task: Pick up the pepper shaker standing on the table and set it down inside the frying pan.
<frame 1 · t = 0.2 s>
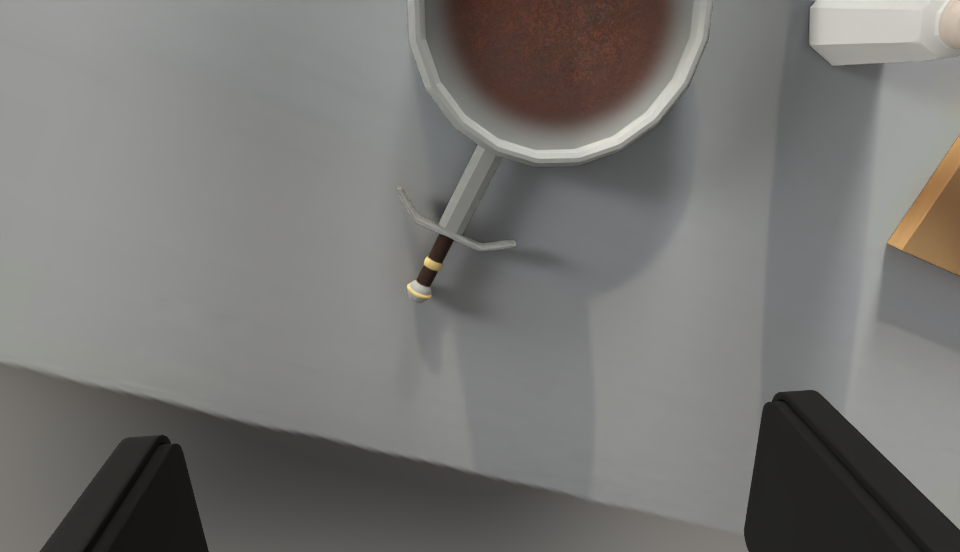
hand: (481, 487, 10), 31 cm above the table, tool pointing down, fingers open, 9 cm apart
frying pan: (511, 101, 39), on the table
pepper shaker: (847, 18, 38), on the table
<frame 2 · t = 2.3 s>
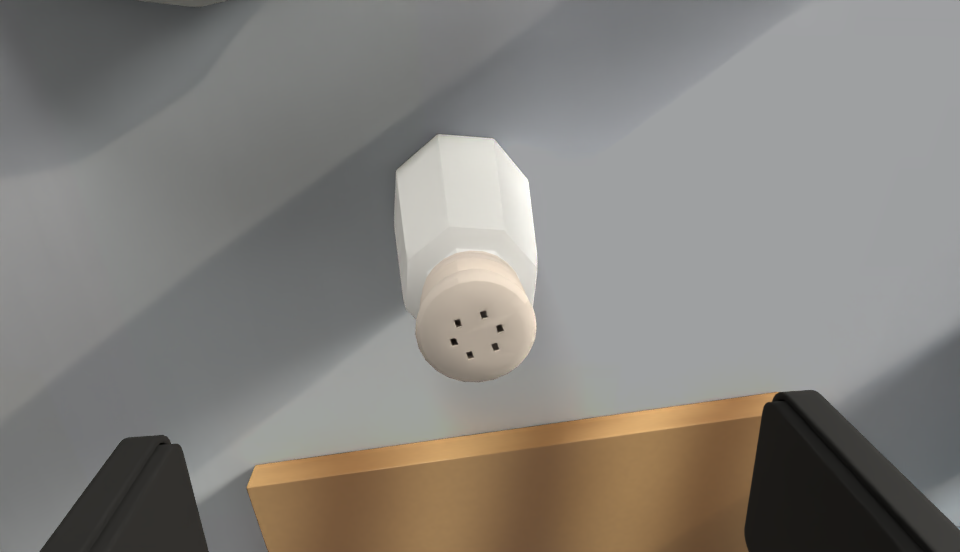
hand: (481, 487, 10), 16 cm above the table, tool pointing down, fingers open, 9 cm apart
pepper shaker: (460, 199, 25), on the table
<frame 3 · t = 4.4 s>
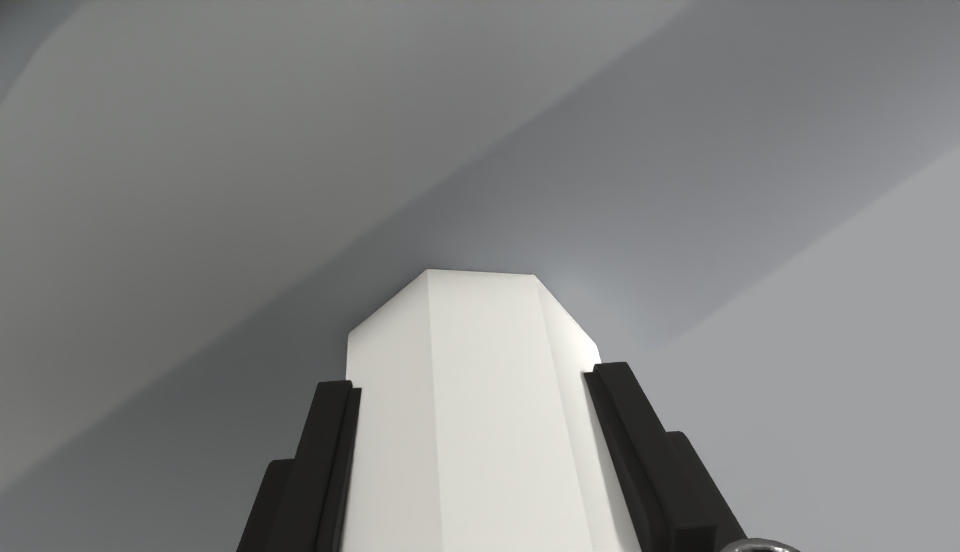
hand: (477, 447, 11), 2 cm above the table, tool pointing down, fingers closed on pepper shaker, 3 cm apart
pepper shaker: (469, 375, 14), on the table, touching gripper
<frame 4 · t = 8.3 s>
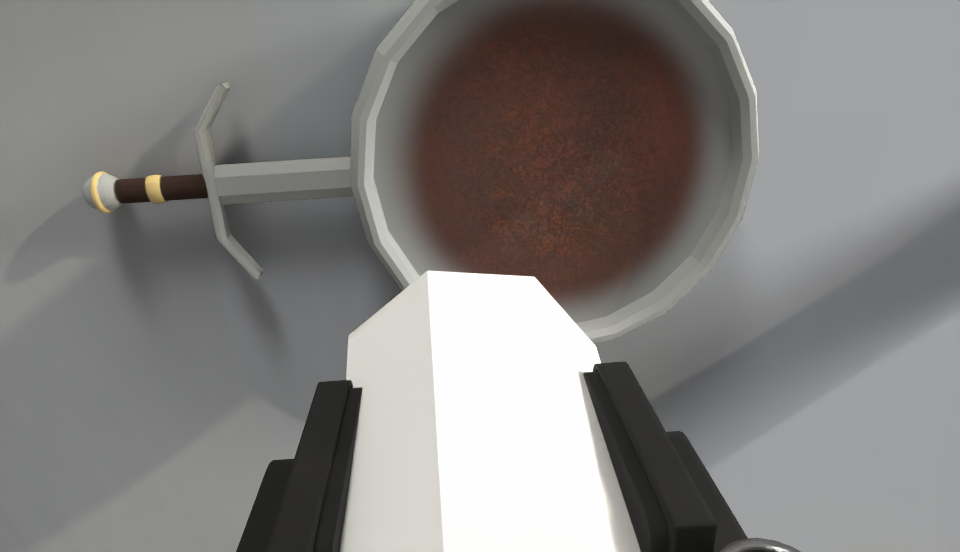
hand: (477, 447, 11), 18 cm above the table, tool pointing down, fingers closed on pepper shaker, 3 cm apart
frying pan: (425, 166, 28), on the table
pepper shaker: (469, 376, 14), point 16 cm above the table, touching gripper
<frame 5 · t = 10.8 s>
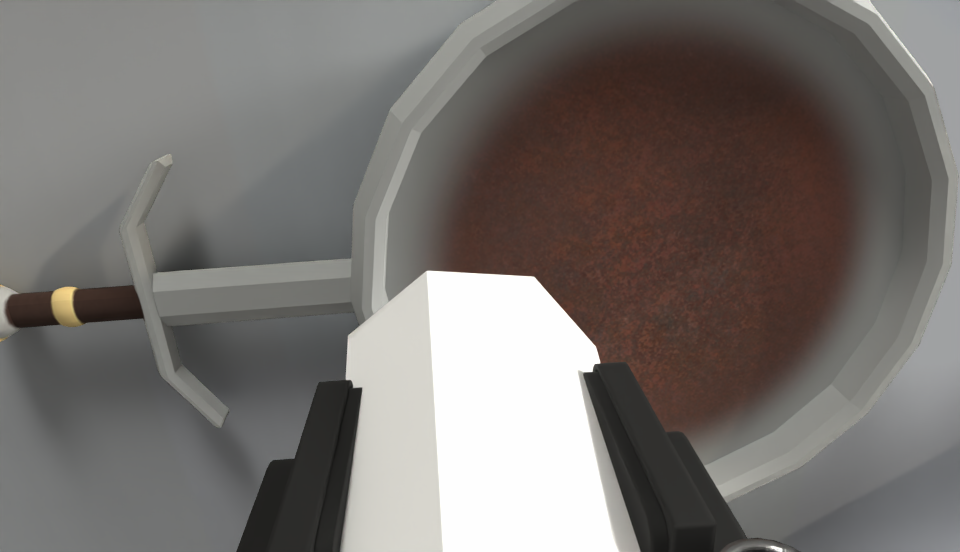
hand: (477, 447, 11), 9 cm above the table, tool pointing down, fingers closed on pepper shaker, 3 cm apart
frying pan: (457, 263, 20), on the table
pepper shaker: (469, 376, 14), point 6 cm above the table, touching gripper
when the fingers open (5 cm above the table, at t = 12.2 s): pepper shaker stays where it is, resting on frying pan.
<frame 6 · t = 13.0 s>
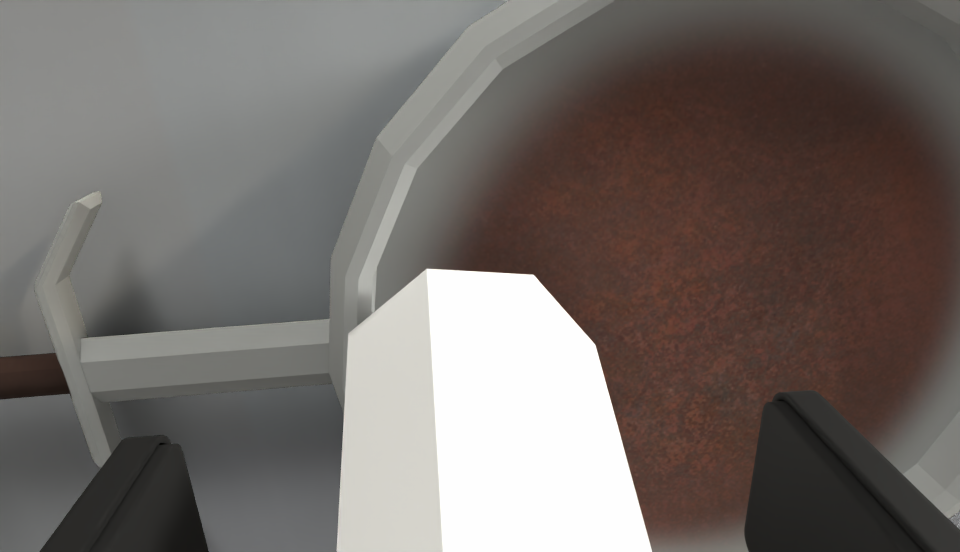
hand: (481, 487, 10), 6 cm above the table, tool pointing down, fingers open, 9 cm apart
frying pan: (463, 320, 16), on the table, touching pepper shaker
pepper shaker: (469, 374, 14), point 2 cm above the table, touching frying pan
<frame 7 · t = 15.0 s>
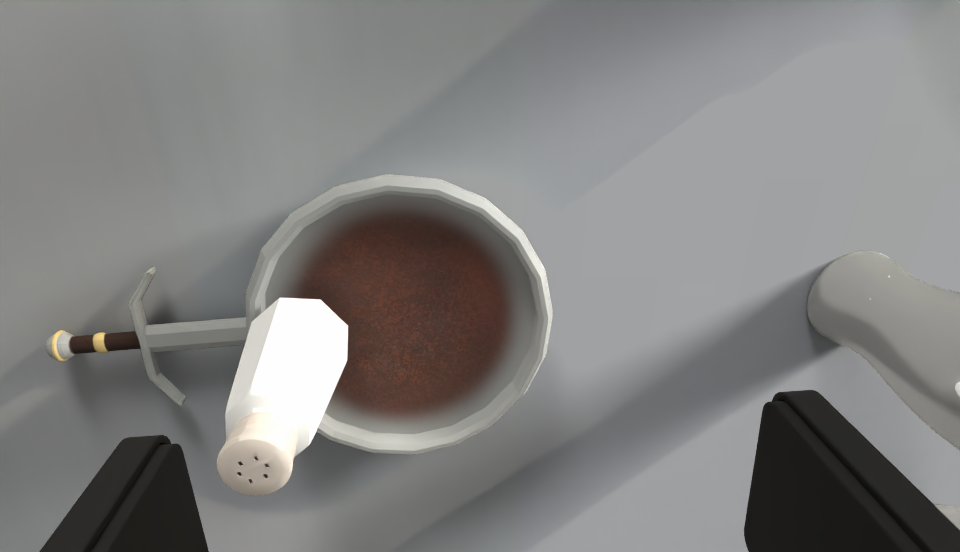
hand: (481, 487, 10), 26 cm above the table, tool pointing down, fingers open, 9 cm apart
frying pan: (308, 317, 37), on the table, touching pepper shaker
pepper shaker: (301, 338, 35), point 2 cm above the table, touching frying pan
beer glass: (850, 294, 40), on the table
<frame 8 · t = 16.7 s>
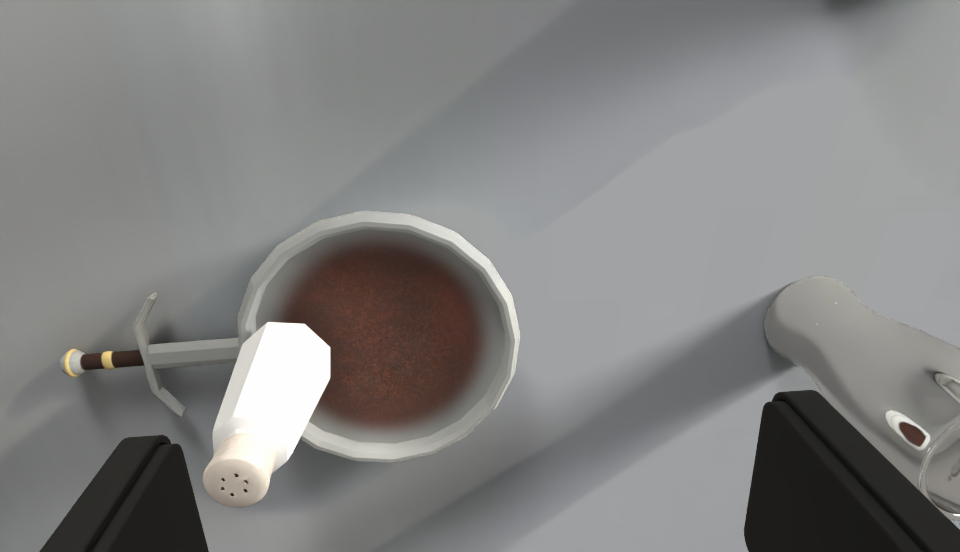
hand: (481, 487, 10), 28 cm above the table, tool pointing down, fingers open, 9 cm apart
frying pan: (296, 337, 40), on the table, touching pepper shaker
pepper shaker: (288, 357, 38), point 2 cm above the table, touching frying pan
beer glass: (806, 316, 42), on the table
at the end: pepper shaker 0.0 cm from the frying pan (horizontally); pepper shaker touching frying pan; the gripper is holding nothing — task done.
